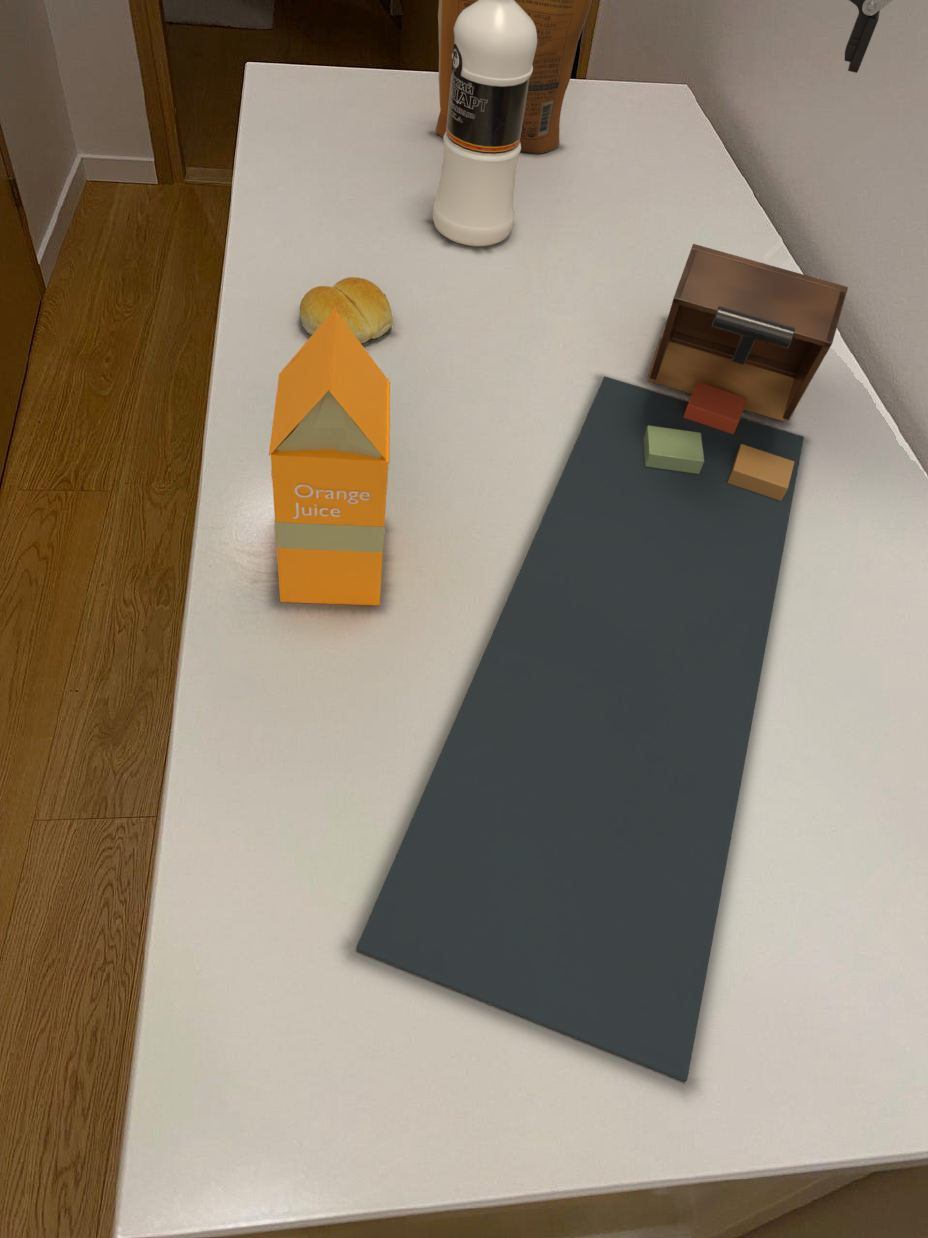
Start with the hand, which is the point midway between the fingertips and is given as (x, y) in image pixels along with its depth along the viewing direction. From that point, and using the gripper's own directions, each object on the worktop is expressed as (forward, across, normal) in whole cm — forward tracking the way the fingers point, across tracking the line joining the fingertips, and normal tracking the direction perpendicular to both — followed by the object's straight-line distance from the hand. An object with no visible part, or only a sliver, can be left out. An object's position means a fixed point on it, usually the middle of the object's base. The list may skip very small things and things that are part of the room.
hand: (909, 81), depth 71 cm
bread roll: (+30, +42, +8) cm, 52 cm away
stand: (+30, +5, -3) cm, 31 cm away
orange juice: (+30, +30, +38) cm, 57 cm away
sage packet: (+28, +8, +13) cm, 32 cm away
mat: (+30, +6, +35) cm, 46 cm away
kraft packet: (+28, 0, +12) cm, 31 cm away
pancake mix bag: (+30, +41, -38) cm, 64 cm away
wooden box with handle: (+17, +5, +4) cm, 18 cm away
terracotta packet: (+28, +5, +5) cm, 29 cm away
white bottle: (+30, +37, -16) cm, 50 cm away
